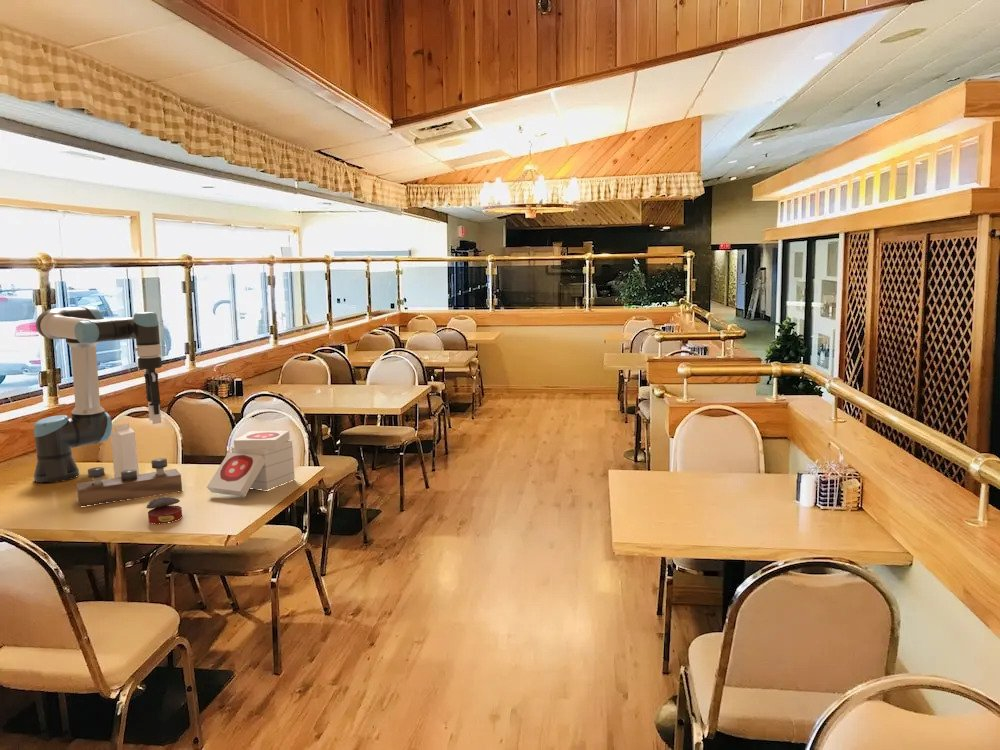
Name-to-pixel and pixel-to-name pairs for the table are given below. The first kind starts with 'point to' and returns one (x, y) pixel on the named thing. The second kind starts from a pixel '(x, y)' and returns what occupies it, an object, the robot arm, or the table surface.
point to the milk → (124, 449)
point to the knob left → (96, 474)
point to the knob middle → (129, 475)
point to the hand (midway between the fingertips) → (155, 421)
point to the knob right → (159, 465)
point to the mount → (129, 488)
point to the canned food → (164, 510)
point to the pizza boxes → (255, 463)
